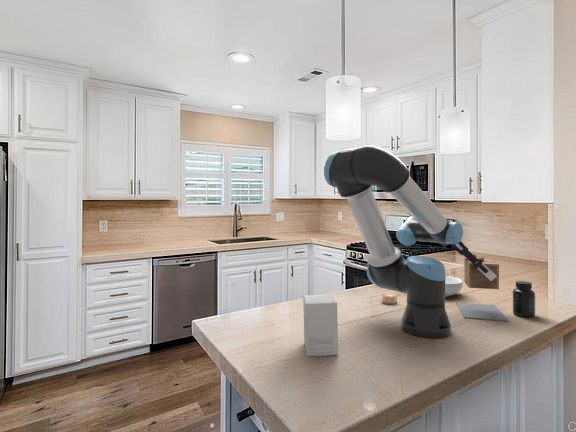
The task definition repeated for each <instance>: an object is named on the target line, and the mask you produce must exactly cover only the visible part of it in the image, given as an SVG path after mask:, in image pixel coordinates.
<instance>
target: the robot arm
mask: <svg viewBox="0 0 576 432" xmlns="http://www.w3.org/2000/svg"><path fill="white" fill-rule="evenodd" d="M323 167H324V168H323V175H324V179H325V181H326V183H327V185H329V186H331V187H332V188H336V189H337V191H338V193H339V196H340V197H341V198H344V199H346V201H347V203H348V206H349V207H350V211H351V212H352V215H353V218H354V220H355V222H356V225H357V226H358V229H359V232H360V234H361V236H362V239H363V241H364V243H365V245H366V248H367V251H368V253H369V257H368V258H367V259H368V261H367V264H366V267H367V269H366V274H367V279H368V280H369V282H370V283H372V285H374V286H376V287H379V288H381V289H385V290H390V291H394V292H398V293H403V294H406V305H405V308H404V312H403V315H402V318H401V321H400V323H401V325H400V327H401V330H403V331H404V332H406V333H407V334H410V335H412V336H417V337H421V338H427V339H428V338H429V339H439V338H441V339H442V338H446V337H448V336H450V335H451V333H452V326H451V322H450V318H449V316H448V313H447V310H446V297H445V278H446V276H447V275H446V269H445V265H444V264H443V263H442V261H440V260H438V259H435V258H431V257H428V256H420V255H411V256H408V257H407V258H404V257H403V254H402V252H401V250H400V248H399V247H396V246H394V244H393V241H392V238H391V236H390V233H389V231H388V228H387V225H386V223H385V221H384V218H383V216H382V213H381V210H380V208H379V205H378V203H377V200H376V198H375V194H374V193H373V190H372V188H373V187H374V186H376V187H378V188H380V189H381V190H382V191H383V192H384V193H387V194H390V195H391V196H392V197H393V198H394V199H395V200H396V201H398V203H399V204H400V205H401V206H402V207H403V208H404V209H405V210H406V211H407V214H408V215H409V217H408V218H407V219H405V220H404V221H405V222H403V224H402V225H400V226H399V228H398V229H397V231H396V233H395V236H396V238H397V240H398V241H399V243H400V244H402V245H403V246H406V247H410V246H412V245H414V244H415V243H416V242H426V243H427V242H428V243H437V244H441V246H443V247H447V246H449V245H451V246H450V247H451V248H452V250H454V251H455V252H458V254H459V255H461V256H463V257H464V258H465V259H468V260H469V261H470V262H471V263H472V264H473V265H475V267H474V268H475V269H478V270H479V271H480V272H482V273H483V274H484V275H485V276H486V277H487V278H488V279H489V280H490V281H492V280H493V279H494V278H496V277H497V276H496V275H495V274H494V273H493V272H492V271H491V270H490V269H489V268H488V267H487V266H485V265H484V264H483V263H482V262H481V261H480V260H478V257H477V256H478V255H476V254H473V253H472V252H471V251H469V248H468V247H467V246H466V245H464V243H463V242H462V239H463V235H464V229H463V226H462V224H461V223H460V222H456V221H449V220H448V219H447V218H446V216H445V215H444V214H443V213H442V211H440V209H438V207H437V206H436V205H435V204H434V203H433V202H432V201H431V199H430V198H429V197H428V196H427V195H426V193H425V192H424V191H423V190H422V188H421V187H420V186H419V185H418V184H417V182H415V181H414V180H413V178H412V177H411V171H410V169H409V168H408V167H407V165H405V163H403V161H401V159H400V158H398V157H397V156H396V155H394V154H393V153H391V152H390V151H388V150H386V149H384V148H382V147H379V146H377V145H363V146H359V147H354V148H353V147H352V148H348V149H341V150H338V151H335V152H333V153H331V154H330V155H329V156H328V157H327V159H326V161H325V165H324V166H323Z"/></svg>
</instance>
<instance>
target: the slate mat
mask: <svg viewBox="0 0 576 432" xmlns="http://www.w3.org/2000/svg"><path fill="white" fill-rule="evenodd" d="M455 304H456V306H457V308H458V307H459V308H458V309H459V311H460V312H461V315H462V317H463V318H464V319H473V320H474V319H475V320H484V321H487V320H488V321H498V322H499V321H500V322H510V320H509V318H507V316H506V315H505V314H504V313H503V312H502V311H501V309H500V308H498V306H496V304H488V303H487V304H485V303H483V304H482V303H470V302H455Z"/></svg>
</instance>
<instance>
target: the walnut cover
mask: <svg viewBox="0 0 576 432" xmlns="http://www.w3.org/2000/svg"><path fill="white" fill-rule="evenodd" d="M463 259H464V261H463V263H464V265H463V270H464V271H463V275H464V276H463V278H464V279H463V280H464V281H463V282H464V283H465V285H466V286H467V288H469V289H484V290H485V289H486V290H487V289H488V290H499V289H500V263H499V262H496V260H494V259H490V258H489V259H488V258H484V257H477V259H478V260H480V261H481V262H482V263H483V264H484V265H485V266H487V267H488V268H489V269H490V270H491V271H492V272H493V273H494V274H495V275H496V276H497V277H496V278H494V279H493V280H492V281H490V280H489V279H488V278H487V277H486V276H485V275H484V274H483V273H482V272H480V271H479V270H478V269H475V268H474V267H475V265H473V264H472V263H471V262H470V261H469V260H468V259H466V258H463Z"/></svg>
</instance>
